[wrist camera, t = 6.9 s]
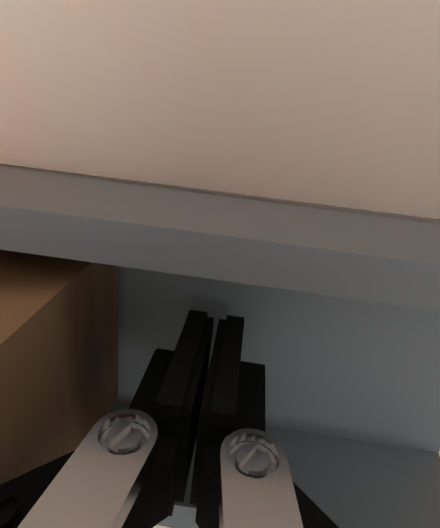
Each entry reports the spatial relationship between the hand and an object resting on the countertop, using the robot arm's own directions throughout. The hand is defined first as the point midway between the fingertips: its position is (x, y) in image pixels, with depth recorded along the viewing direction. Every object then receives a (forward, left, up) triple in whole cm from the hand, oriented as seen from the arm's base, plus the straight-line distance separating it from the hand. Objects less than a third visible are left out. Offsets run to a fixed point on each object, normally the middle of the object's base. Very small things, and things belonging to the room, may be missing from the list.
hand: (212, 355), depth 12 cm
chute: (+1, 0, -2) cm, 2 cm away
